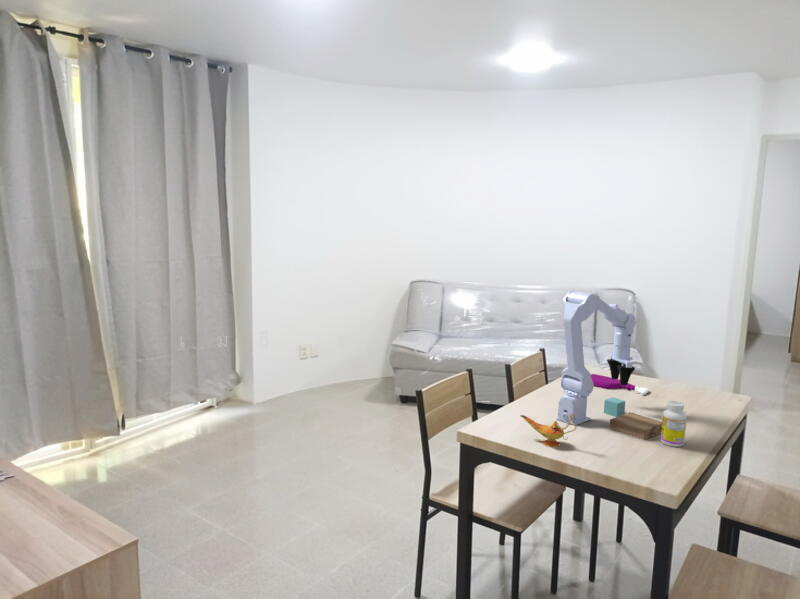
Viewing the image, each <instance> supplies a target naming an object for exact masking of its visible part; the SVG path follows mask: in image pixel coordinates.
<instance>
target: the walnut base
mask: <svg viewBox="0 0 800 599" xmlns="http://www.w3.org/2000/svg"><path fill="white" fill-rule="evenodd" d="M608 428H609V429H610V430H613V431H617V432H619V433H622V434H624V435H625V434H626V435H628V434H629V436H631V435H632V436H631V437H634V436H635V437H634V438H637V437H638V438H637V439H640V438H641V439H640V440H642V439H643V441H645V440H647V439H649V438H652V437H654V436H656V435H658V434H661V433H660V432H661V430H662V421H660V420H657V419H653V418H650V417H647V416H643V415H640V414H637V413H634V412H631V411H630V412H627V413H624V415H621V416H618V417H613V418H610V419H609V427H608ZM653 435H654V436H653ZM651 436H652V437H651ZM644 439H645V440H644Z"/></svg>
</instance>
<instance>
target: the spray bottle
mask: <svg viewBox="0 0 800 599" xmlns="http://www.w3.org/2000/svg"><path fill="white" fill-rule="evenodd" d="M590 374H591V379H592V381H593V385H594V387H595V386H597V387H596V388H599V387H601V388H600V389H605V388H606V390H617V388H619V389H621V388H623V389H622V390H626V389H627V391H631V392H632V393H638V394H640V395H641V396H644V395H646V394H648V393H649V392H650V390H649V388H648V387H640V386H637V385H634V384H632V383H629V382H628V384H627V385H621V384H620V378H618V379H612V377H611V376H610V377H609V376H606V375H602V374H601V375H600V374H597V373H596V374H594V373H590Z"/></svg>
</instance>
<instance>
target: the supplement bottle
mask: <svg viewBox="0 0 800 599" xmlns="http://www.w3.org/2000/svg"><path fill="white" fill-rule="evenodd" d="M666 407H667V408H666V409H664V410H663V412H662V418H661V420H662V421H661V422H662V430H661V433H660V434H661V435H660V441H661V443H662V444H664V445H666V446H670V447H674V448H676V447H677V448H679V447H683V446H684V445H685V441H686V428H687V418H688V416H687V413H686V412H685V411H684V409H685V404H684V403H683V402H681V401H673V400H669V401H667V403H666Z"/></svg>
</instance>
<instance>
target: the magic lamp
mask: <svg viewBox="0 0 800 599" xmlns="http://www.w3.org/2000/svg"><path fill="white" fill-rule="evenodd" d="M569 416H570V415H569ZM572 416H574V414H572V415H571V417H570V419H571V420H572V419H574V418H572ZM519 417H521V418H523V419H524V420H525V421H526V422H527V423H528V424H529V425H530V426H531V428H533V429H534V430H535V431H536V432H538V433H539V434H540V435H541V436H543V437H544V438H546V439H545V440H543V441H542V443H543V445H545V446H546V447H551V448H553V447H554V448H556V447H560V446H561V445H560V444H561V443H560V441H557V440H559V439H561V438H563V440H568V436H566V438H565V437H564V435H566V434H569V433H572V432H574V431H575V430H576V429H577V425H576V424H575V422H574V421H573V420H572V421H573V423H574V424H575V425H574V426H575V427H574V428H573V429H571V430H568V431H566V432H564V430H566V429H567V428H568V427H569V426H570V423H569V422H570V421H571V420H570V419H569V422H568V423H567V424H566V426H565V427H562V426H560V425H559V423H558V421H557V420H555V421H554V422H553V423H552V424H550V425H546V424H541V423H539V422H537V421H534V420H533V419H532V418H531V417H528V416H526V415H523V414H521V415H519Z"/></svg>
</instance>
